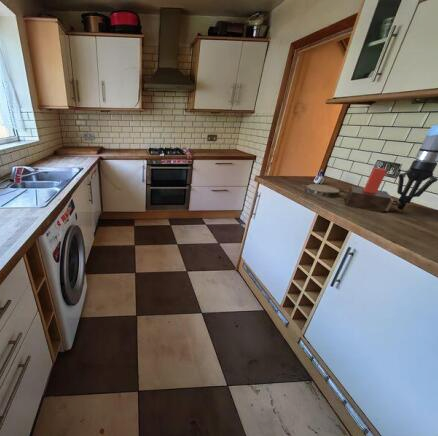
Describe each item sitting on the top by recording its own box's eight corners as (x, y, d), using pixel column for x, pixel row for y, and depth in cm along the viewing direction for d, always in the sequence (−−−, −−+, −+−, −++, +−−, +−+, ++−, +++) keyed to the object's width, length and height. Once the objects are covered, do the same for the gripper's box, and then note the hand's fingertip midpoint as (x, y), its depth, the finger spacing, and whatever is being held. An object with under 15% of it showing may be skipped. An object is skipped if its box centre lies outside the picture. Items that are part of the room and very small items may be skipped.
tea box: (374, 191, 119) (385, 168, 114) (375, 193, 116) (387, 170, 110) (363, 189, 121) (373, 167, 116) (364, 191, 118) (374, 168, 113)
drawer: (394, 206, 119) (400, 195, 116) (399, 213, 110) (405, 202, 107) (351, 198, 128) (355, 188, 126) (352, 204, 120) (357, 194, 117)
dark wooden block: (379, 204, 123) (386, 191, 119) (383, 212, 113) (391, 198, 110) (345, 198, 131) (351, 185, 127) (346, 205, 121) (352, 191, 117)
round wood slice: (344, 197, 132) (346, 192, 131) (318, 197, 132) (320, 192, 130) (324, 188, 147) (325, 184, 145) (300, 188, 146) (302, 184, 145)
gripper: (444, 161, 103) (416, 209, 113) (404, 158, 110) (381, 203, 120) (450, 164, 97) (420, 214, 107) (407, 160, 104) (383, 207, 114)
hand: (400, 208), depth 114 cm, fingers closed
